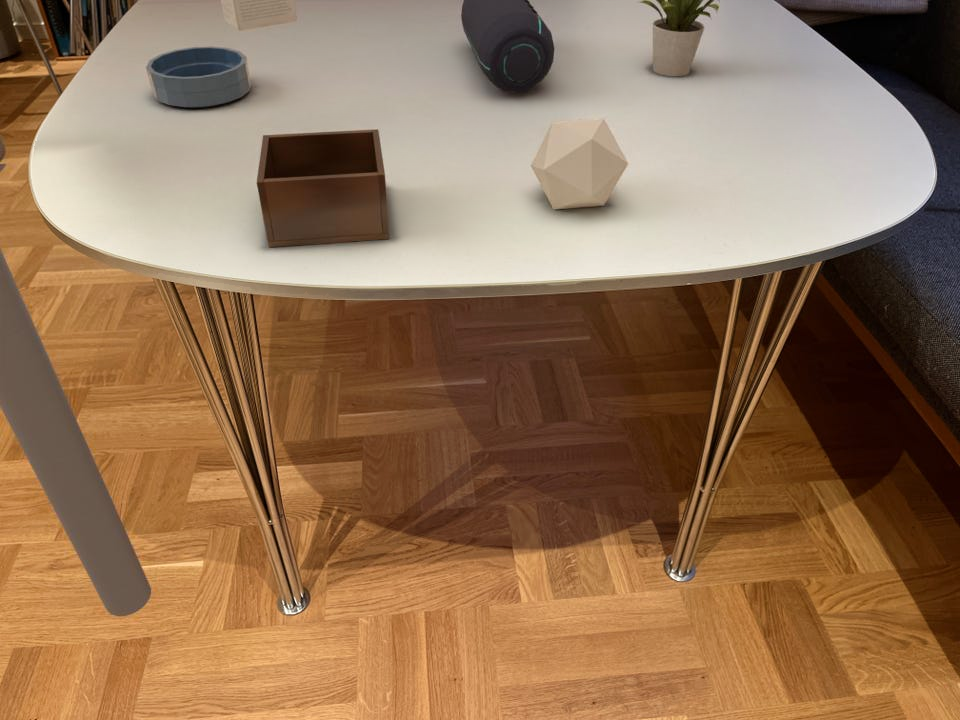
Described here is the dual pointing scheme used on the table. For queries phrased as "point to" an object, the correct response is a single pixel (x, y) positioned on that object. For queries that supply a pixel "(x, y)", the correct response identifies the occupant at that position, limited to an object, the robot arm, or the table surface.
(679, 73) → the house plant
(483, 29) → the portable speaker
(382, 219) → the holder
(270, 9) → the cosmetic box
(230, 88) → the bowl
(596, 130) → the die
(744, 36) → the table surface
